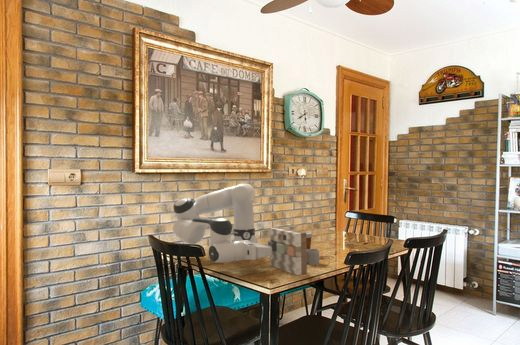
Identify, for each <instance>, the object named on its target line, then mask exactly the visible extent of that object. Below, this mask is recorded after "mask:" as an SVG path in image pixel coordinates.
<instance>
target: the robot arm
mask: <svg viewBox="0 0 520 345" xmlns="http://www.w3.org/2000/svg"><path fill="white" fill-rule="evenodd" d="M255 196H256V191H255V188H254V186H253V185H252V184H249V183H240V184H236V185H234V186H233V185H232V186H230V187H227V188H226V187H225V188H223V189H219V190H215V191H212V192H209V193H205V194H203V195H200V196H198V197H196V198H194V199H193V198H188V197H182V198H179V199H177V200H176V201H175V202H174V204H173V211H174V213H175V216H176V218H177V220H176V221H175V222H174V224H173V226H172V232H173V234H174V235H175V236H176V237H177V238H178V239H179V240H181V241H183V242H184V243H187V244H190V245H196V244H199V243H200V242H201V241H202V240H203V239H204V237H205V234H206V229H207V228H209V231H210V232H209V235H210V236H209V247H208V257H209V259H210V261H211V262H212V263H219V264H221V263H230V262H231V263H232V262H233V261H239V262H240V261H247V260H248V261H257V259H261V258H268V257H270V256H271V255H272V247H271V245H268V244H263V243H262V244H261V243H259V242H258V241H259V240H258V237H256V230H255V229H256V228H255V214H254V206H253V200H254V198H255ZM230 208H232V209H233V223H232V222H231V221H230V220H229V219H227V218H223V217H221V218H216V217H215V218H213V217H201V216H200V215H208V214H212V213H217V212H220V211H224V210H227V209H230ZM232 235H233V236H232Z"/></svg>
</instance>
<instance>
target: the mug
mask: <svg viewBox="0 0 520 345" xmlns="http://www.w3.org/2000/svg"><path fill="white" fill-rule="evenodd" d="M318 265H320V249H317V248H310V249H307V266H318Z"/></svg>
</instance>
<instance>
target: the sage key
mask: <svg viewBox="0 0 520 345" xmlns="http://www.w3.org/2000/svg"><path fill="white" fill-rule="evenodd" d="M276 246H277V253H280V254H284V253H286V252H285V244H283V243H278V244H276Z"/></svg>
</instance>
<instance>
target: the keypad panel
mask: <svg viewBox="0 0 520 345" xmlns="http://www.w3.org/2000/svg"><path fill="white" fill-rule="evenodd" d="M305 232H306V231H300V230H295V229H289V228H283V227H269V241H276V244H278V243H283V244H285V252H286V253H284V254H280V253H277V251H272V255H271V256H269V264H270V265H269V266H271V267H274V268H277V269H279V270H282V271H285V272H288V273H289V274H292V275H295V276H299V275H306V274H308V272H307V271H308V267H307V266H308V264H307V241H306V233H305ZM291 245H292V246H295V256H290V255H288V246H291Z"/></svg>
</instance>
